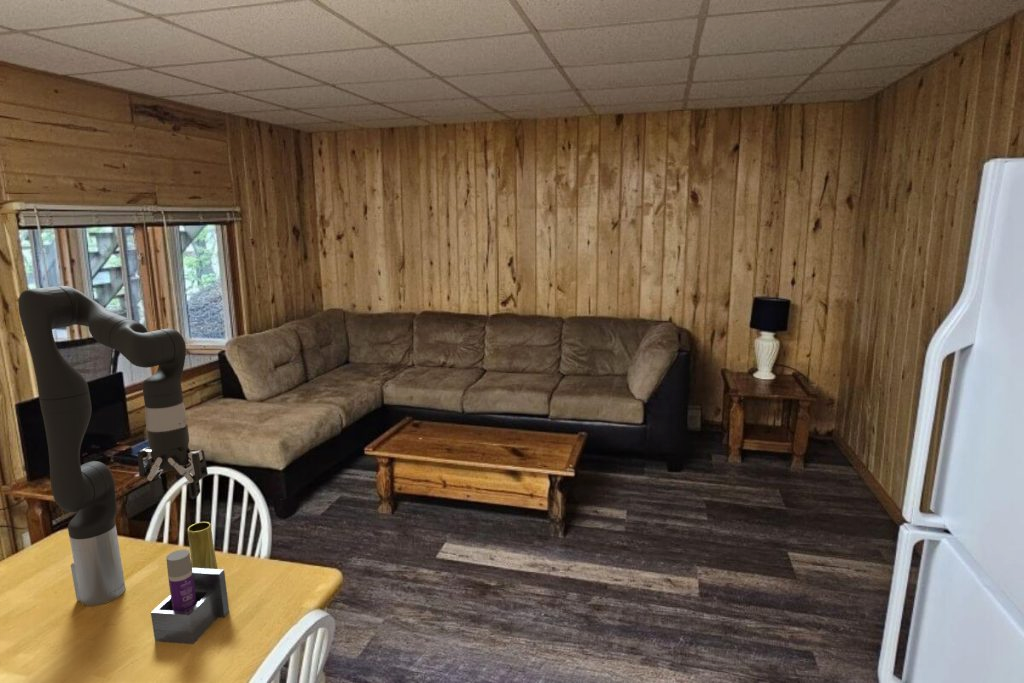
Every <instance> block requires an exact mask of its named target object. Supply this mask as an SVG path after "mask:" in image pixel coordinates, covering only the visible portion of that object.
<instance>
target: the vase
mask: <svg viewBox="0 0 1024 683" xmlns="http://www.w3.org/2000/svg"><path fill="white" fill-rule="evenodd" d="M186 531H187V540H188V546H189V553H190V560H191V566H192V568H208V569H219V568H218V563H217V559H216V558H217V557H216V551H215V546H214V539H213V531H212V524H211V523H210V522H209V521H200V522H196V523H194V524H191V525H189V526H188V528H187V530H186Z"/></svg>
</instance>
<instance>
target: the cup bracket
mask: <svg viewBox="0 0 1024 683" xmlns="http://www.w3.org/2000/svg"><path fill="white" fill-rule="evenodd" d="M192 572H193V579H194V587H195V595H196V603H197V604H196V605H195V606H194V607H193V608H192V609H191V610H190V611H189V612H183V611H173V608H172V601H171V594H170V595H168V596H167V597H166V598H165V599H164V600H163V601H162V602H160V604H158V605H157V606H156V607H155V608H154V609H153V610H152V611H151V612H150V618H151V623H152V630H153V636H154V638H153V639H154V642H160V643H172V644H173V643H174V644H175V643H176V644H185V645H186V644H187V645H194V644H195V643H196V642H197V641H199V639H200V638H201V637H202V636H203V634H205V632H207V630H208V629H210V627H211V626H212V625H213V624H214V623H215V621H217V620H218V619H225V618H226V617H227V616H228V615H229V614H230V609H229V608H230V606H229V598H228V597H229V596H228V591H227V582H226V574H225V573H226V572H225V569H221V568H218V569H208V568H192Z"/></svg>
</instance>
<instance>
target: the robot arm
mask: <svg viewBox="0 0 1024 683" xmlns="http://www.w3.org/2000/svg"><path fill="white" fill-rule="evenodd" d="M17 304H18V305H17V308H18V314H19V318H20V322H21V326H22V329H23V332H24V336H25V339H26V341H27V346H28V349H29V352H30V355H31V356H30V357H31V360H32V364H33V369H34V375H35V379H36V386H37V393H38V400H39V405H40V410H41V415H42V418H43V424H44V429H45V435H46V441H47V442H46V444H47V448H48V449H47V450H48V458H49V461H48V462H49V477H50V488H51V489H50V490H51V493H52V494H51V495H52V497H53V499H54V502H55V504H56V505H57V506H58V507H59V508H60V509H61V510H63V511H64V512H67V513H74V512H77V513H76V514H75V515H74V517H72V519H70V521H69V523H68V525H67V530H68V536H69V542H70V546H71V547H70V549H71V553H72V559H73V562H72V563H71V564H70V568H71V569H70V571H71V574H72V575H71V576H72V582H73V586H74V592H75V598H76V599H75V600H76V601H77V600H78V602H80V603H81V604H82V605H84V606H98V605H99V606H100V605H102V604H106V603H108V602H112V601H114V600H115V599H117V598H118V597H120V596H121V595H123V593H124V592H125V590H126V584H125V582H126V581H125V576H124V570H123V569H124V568H123V563H122V562H123V561H122V556H121V550H120V544H119V538H118V532H117V525H116V524H117V523H116V516H117V514H118V512H117V511H118V506H117V494H116V485H115V480H114V476H113V474H112V472H111V470H110V468H109V466H108V465H106V464H105V463H103V462H101V461H97V460H92V461H91V460H90V461H88V462H85V463H83V464H81V457H80V456H81V447H82V443H83V440H84V437H85V435H86V431H87V429H88V426H89V423H90V420H91V416H92V411H93V410H92V408H93V407H92V401H91V395H90V390H89V389H90V388H89V384H88V382H87V381H86V379H85V377H84V376H83V375H82V374H81V373H80V372H79V371H78V369H76V368H75V367H74V366H73V365H72V364H71V363H70V362H69V361H68V360H67V359H66V358H65V357H64V356H63V354H61V352H60V350H59V349H58V347H57V344H56V341H55V338H54V333H53V330H56V329H62V328H67V327H71V326H75V325H76V326H77V325H78V326H85V327H87V328H88V331H89V333H90V335H91V337H92V338H93V339H94V340H95V341H96V342H98V343H100V344H101V345H103V346H105V347H107V348H109V349H112V350H114V351H117V352H119V353H120V354H121V355H122V356H123V357H124V358H126V360H128V362H129V363H130V364H132V365H133V366H135V367H138V368H143V369H144V368H146V369H147V368H154V367H157V366H158V367H157V370H156V372H154V373H153V374H152V375H150V376H149V377H147V378H146V379H144V380H143V382H142V394H143V401H144V410H145V412H144V419H145V420H144V421H145V425H146V426H145V427H146V428H145V429H146V434H147V440H148V447H145V448H143V449H140V450H139V451H138V452H137V464H138V475H139V477H140V478H142V479H143V478H146V479H147V480H148V481H149V487H150V492H151V494H152V495H153V497H159V496H160V495H162V494H163V492H164V489H163V482H162V476H161V474H162V473H163V472H168V471H171V472H175V473H176V472H177V473H179V475H181V476H183V477H184V478H185V479H186V480H187V481H188V483H187V487H188V495H189V496H188V497H189V499H192V500H193V499H195V498H197V497H198V496H199V495H200V493H201V485H200V481H201V480H202V479H203V478H205V477H207V476H208V475H209V474H208V466H207V460H206V456H205V451H204V450H203V449H199V450H197V451H191V449H190V448H189V444H190V434H189V433H190V432H189V426H188V418H187V412H186V408H185V404H184V398H183V396H184V395H183V388H182V380H183V375H184V374H183V373H184V368H185V362H186V361H185V360H186V356H187V346H186V342H185V339H184V337H183V335H182V334H181V333H180V331H177V329H173V328H162V329H157V330H152V331H148V330H147V328H146V326H144V325H143V324H142V323H140V322H139V321H136V320H134V319H132V318H129V317H125V316H123V315H120V314H118V313H115V312H113V311H111V310H109V309H107V308H105V307H104V306H103V305H101V304H100V303H98V302H97V301H95V300H94V299H92V298H91V297H89V296H87V295H86V294H84V293H83V292H82V291H80V290H78V289H76V288H74V287H72V286H67V285H55V286H46V287H45V286H44V287H38V288H29V289H25V290H23V291H21V293H20V295H19V297H18V302H17ZM152 461H154V464H152V463H153V462H152ZM185 467H186V468H185Z"/></svg>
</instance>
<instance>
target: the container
mask: <svg viewBox="0 0 1024 683" xmlns="http://www.w3.org/2000/svg"><path fill="white" fill-rule="evenodd" d="M165 559H166V567H167V568H166V570H167V578H168V586H169V591H170V592H169V594H170V595H171V601H172V608H173V611H183V612H189V611H190V610H191V609H192V608H193V607H194V606H195V605H196V604H197V603H196V595H195V587H194V579H193V572H192V566H191V553H190V550H187V549H178V550H174V551H172V552H170V553H169V554H167V556H166V557H165Z"/></svg>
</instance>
